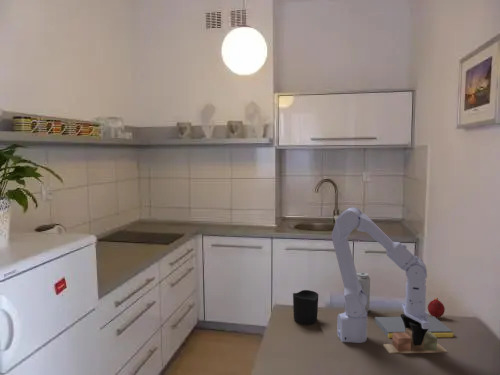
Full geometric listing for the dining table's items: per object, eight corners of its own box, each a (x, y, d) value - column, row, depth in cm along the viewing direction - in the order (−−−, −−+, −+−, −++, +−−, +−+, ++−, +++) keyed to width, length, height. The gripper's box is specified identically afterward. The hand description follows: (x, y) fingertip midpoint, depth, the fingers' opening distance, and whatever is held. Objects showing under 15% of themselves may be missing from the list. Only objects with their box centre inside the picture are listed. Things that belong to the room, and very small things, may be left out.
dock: (388, 340, 125) (388, 332, 125) (374, 323, 138) (374, 317, 137) (453, 339, 126) (453, 331, 125) (433, 322, 138) (433, 316, 138)
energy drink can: (350, 310, 149) (351, 274, 148) (357, 306, 154) (358, 270, 153) (365, 315, 145) (366, 277, 144) (371, 310, 150) (372, 273, 149)
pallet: (389, 356, 115) (390, 334, 114) (383, 348, 120) (383, 327, 119) (446, 355, 116) (447, 333, 115) (437, 347, 121) (438, 326, 120)
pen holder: (319, 326, 136) (319, 299, 135) (293, 325, 136) (293, 298, 136) (316, 315, 145) (317, 290, 144) (292, 314, 146) (292, 289, 145)
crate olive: (424, 350, 116) (424, 338, 116) (417, 344, 120) (418, 332, 120) (436, 350, 116) (437, 337, 116) (429, 343, 120) (430, 331, 120)
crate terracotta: (398, 351, 116) (398, 338, 115) (392, 344, 119) (392, 332, 119) (410, 350, 116) (411, 338, 115) (404, 344, 120) (405, 332, 119)
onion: (446, 322, 139) (447, 301, 138) (429, 320, 140) (430, 300, 139) (441, 315, 145) (442, 295, 144) (425, 314, 146) (426, 294, 145)
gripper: (440, 308, 109) (438, 352, 110) (416, 290, 124) (415, 330, 125) (416, 308, 109) (415, 353, 110) (395, 291, 124) (394, 330, 125)
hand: (414, 341), depth 118 cm, fingers closed on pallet, 4 cm apart
